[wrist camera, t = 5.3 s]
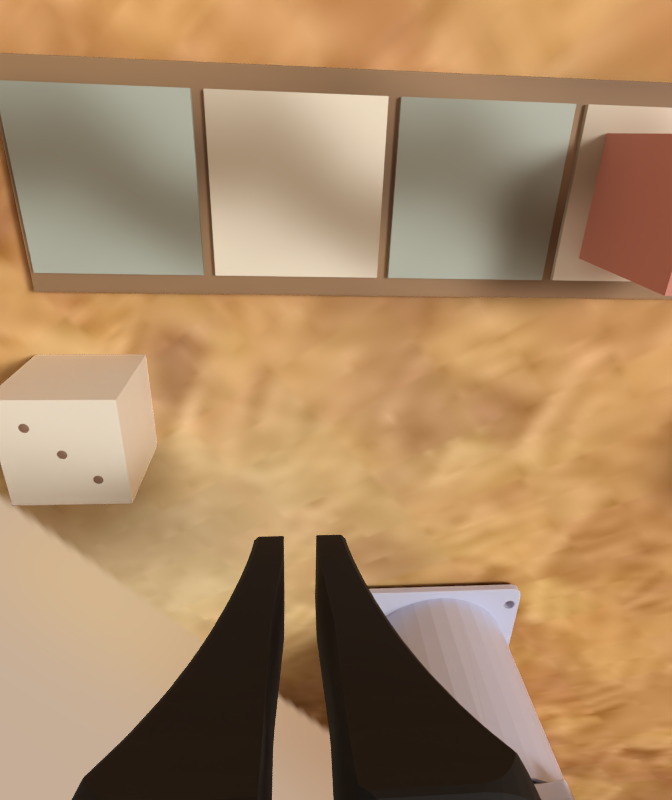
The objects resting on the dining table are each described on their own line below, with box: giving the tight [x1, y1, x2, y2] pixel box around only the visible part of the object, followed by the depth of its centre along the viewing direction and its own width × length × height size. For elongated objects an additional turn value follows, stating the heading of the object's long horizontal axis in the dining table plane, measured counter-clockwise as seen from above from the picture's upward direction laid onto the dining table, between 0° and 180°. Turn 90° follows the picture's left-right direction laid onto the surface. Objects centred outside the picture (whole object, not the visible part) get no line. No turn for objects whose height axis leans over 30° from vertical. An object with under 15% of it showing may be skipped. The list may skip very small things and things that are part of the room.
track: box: [0, 53, 672, 299], centre depth 18 cm, size 7×24×1 cm, turn 88°
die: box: [0, 354, 158, 506], centre depth 20 cm, size 4×4×4 cm
